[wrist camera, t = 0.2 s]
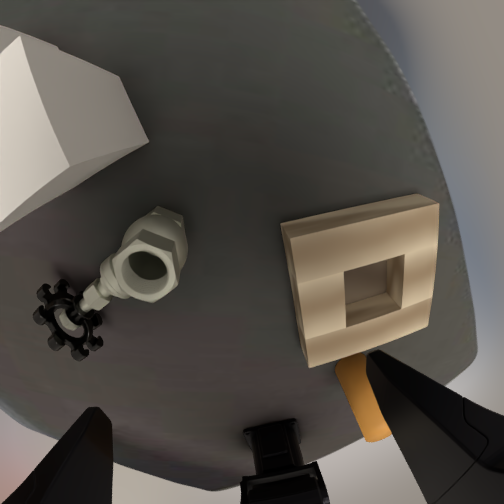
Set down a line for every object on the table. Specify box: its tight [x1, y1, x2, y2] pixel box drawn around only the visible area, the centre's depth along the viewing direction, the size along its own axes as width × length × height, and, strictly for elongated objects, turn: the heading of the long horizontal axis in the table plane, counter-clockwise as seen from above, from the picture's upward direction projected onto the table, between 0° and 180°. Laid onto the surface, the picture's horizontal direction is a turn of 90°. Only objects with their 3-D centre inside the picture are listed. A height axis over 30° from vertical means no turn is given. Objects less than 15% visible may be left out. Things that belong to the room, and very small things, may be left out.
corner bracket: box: [0, 25, 149, 232], centre depth 11 cm, size 11×11×12 cm
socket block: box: [280, 193, 439, 368], centre depth 23 cm, size 12×12×3 cm
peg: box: [335, 353, 392, 442], centre depth 25 cm, size 4×4×9 cm
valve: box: [33, 206, 188, 361], centre depth 19 cm, size 7×7×12 cm
